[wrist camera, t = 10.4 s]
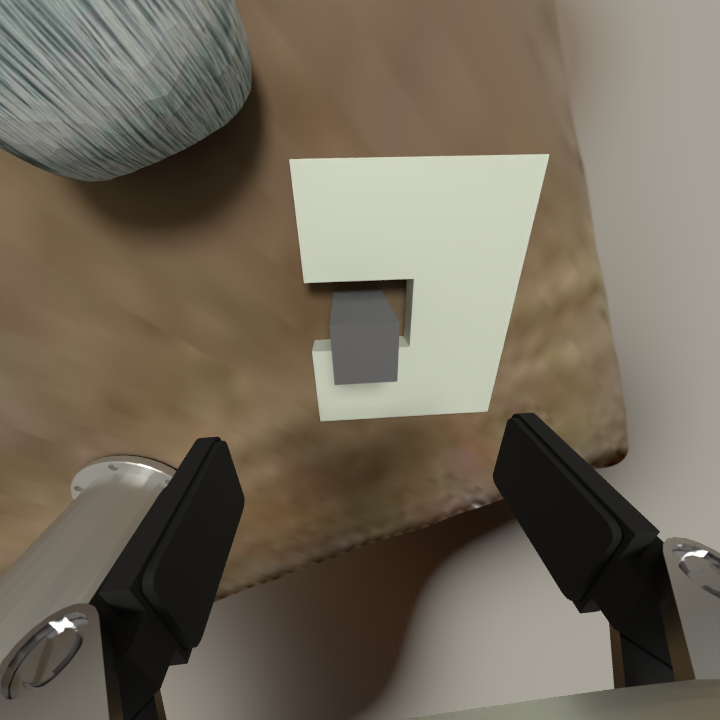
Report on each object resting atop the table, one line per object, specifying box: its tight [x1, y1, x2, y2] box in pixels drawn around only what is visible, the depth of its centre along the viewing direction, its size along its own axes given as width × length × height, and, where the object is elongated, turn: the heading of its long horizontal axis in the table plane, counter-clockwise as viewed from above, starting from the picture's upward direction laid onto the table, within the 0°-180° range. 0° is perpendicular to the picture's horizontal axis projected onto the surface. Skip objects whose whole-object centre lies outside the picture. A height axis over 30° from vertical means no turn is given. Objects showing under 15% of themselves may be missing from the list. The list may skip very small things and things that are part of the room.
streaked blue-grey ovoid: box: [0, 0, 252, 181], centre depth 13 cm, size 14×10×10 cm
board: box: [289, 154, 549, 421], centre depth 22 cm, size 20×16×2 cm
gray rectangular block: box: [329, 289, 400, 385], centre depth 20 cm, size 4×4×8 cm
